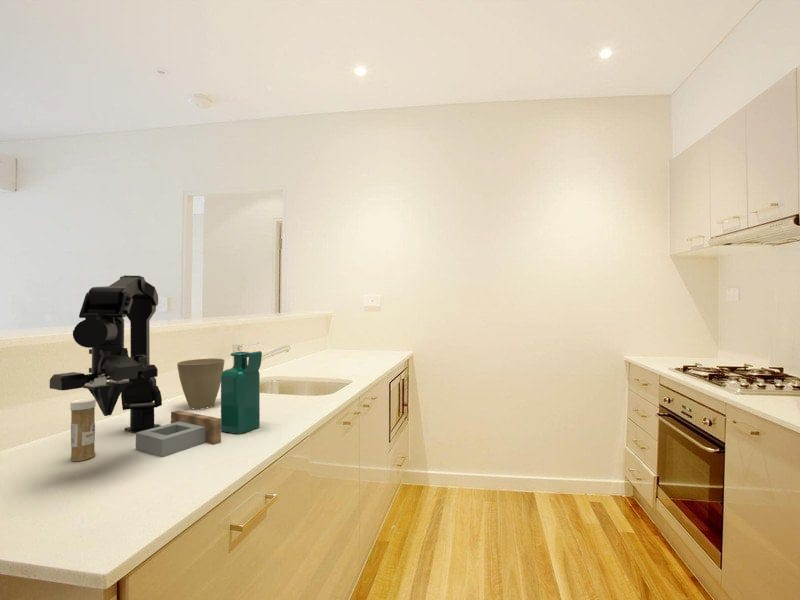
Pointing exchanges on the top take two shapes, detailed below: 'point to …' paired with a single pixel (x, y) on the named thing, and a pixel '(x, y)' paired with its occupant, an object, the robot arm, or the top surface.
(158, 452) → the holder block
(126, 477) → the top surface
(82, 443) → the sprinkles bottle
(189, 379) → the plant pot
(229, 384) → the pitcher
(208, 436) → the walnut wall
